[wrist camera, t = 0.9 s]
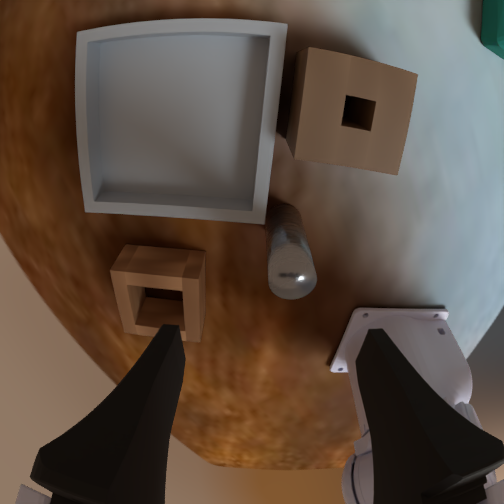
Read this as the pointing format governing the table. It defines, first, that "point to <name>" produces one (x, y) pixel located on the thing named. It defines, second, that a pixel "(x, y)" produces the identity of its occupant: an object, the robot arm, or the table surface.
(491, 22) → the digital multimeter
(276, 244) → the cylinder
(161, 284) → the wide bore block
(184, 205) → the tray
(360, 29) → the table surface
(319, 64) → the block
